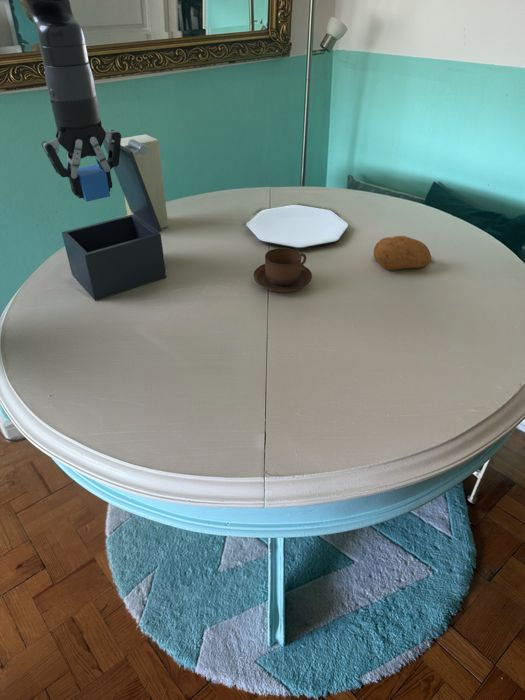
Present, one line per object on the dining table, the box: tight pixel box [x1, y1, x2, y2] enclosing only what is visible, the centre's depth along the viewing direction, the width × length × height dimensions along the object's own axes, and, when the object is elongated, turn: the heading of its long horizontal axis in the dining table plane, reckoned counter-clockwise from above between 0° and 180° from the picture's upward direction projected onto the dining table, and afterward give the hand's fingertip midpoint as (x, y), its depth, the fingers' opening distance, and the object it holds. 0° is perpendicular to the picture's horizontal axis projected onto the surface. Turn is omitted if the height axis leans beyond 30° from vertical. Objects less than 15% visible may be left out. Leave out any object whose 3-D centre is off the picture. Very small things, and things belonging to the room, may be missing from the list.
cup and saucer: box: [253, 247, 313, 293], centre depth 106 cm, size 12×12×6 cm
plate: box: [246, 204, 349, 249], centre depth 128 cm, size 24×24×2 cm
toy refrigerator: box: [121, 134, 169, 230], centre depth 125 cm, size 8×7×21 cm
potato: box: [373, 235, 432, 271], centre depth 111 cm, size 7×13×7 cm, turn 96°
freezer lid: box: [102, 137, 163, 233], centre depth 103 cm, size 17×13×5 cm
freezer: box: [61, 214, 167, 302], centre depth 107 cm, size 16×13×10 cm
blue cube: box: [78, 164, 111, 202], centre depth 95 cm, size 5×5×5 cm
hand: (93, 193), depth 97 cm, fingers closed on blue cube, 4 cm apart
